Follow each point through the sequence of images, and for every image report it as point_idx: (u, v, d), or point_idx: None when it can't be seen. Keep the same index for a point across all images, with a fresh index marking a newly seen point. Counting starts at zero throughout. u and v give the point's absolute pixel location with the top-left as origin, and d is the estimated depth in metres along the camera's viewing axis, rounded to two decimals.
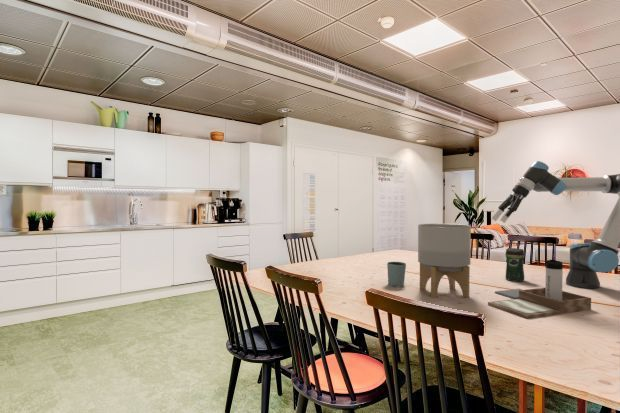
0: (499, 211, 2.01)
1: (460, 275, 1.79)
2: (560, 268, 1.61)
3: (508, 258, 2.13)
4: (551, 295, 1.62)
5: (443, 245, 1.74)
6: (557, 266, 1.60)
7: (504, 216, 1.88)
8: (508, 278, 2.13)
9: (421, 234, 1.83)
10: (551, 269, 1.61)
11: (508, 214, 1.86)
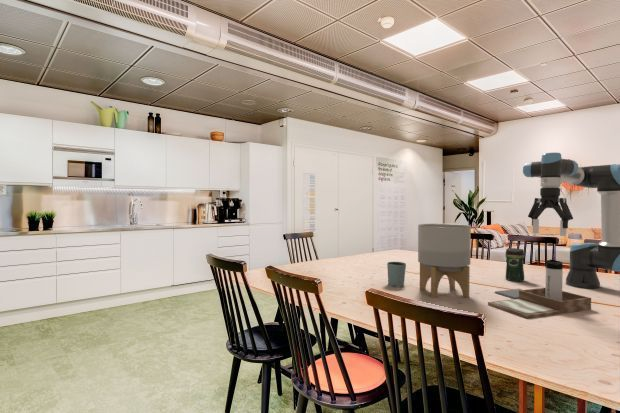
0: (536, 221, 1.71)
1: (460, 275, 1.79)
2: (560, 268, 1.61)
3: (508, 258, 2.13)
4: (551, 295, 1.62)
5: (443, 245, 1.74)
6: (557, 266, 1.60)
7: (562, 229, 1.58)
8: (508, 278, 2.13)
9: (421, 234, 1.83)
10: (551, 269, 1.61)
11: (566, 225, 1.57)
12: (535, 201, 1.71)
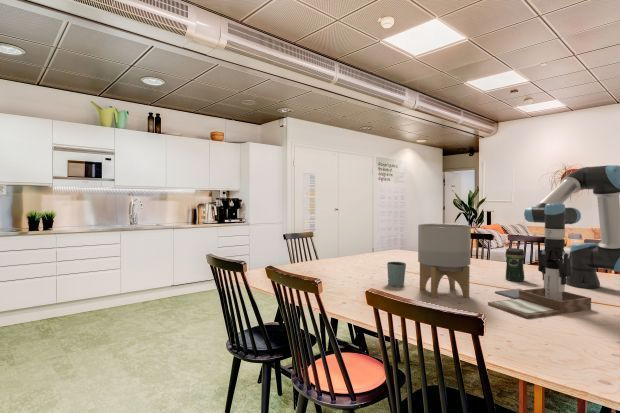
0: None
1: (460, 275, 1.79)
2: None
3: (508, 258, 2.13)
4: (551, 294, 1.62)
5: (443, 245, 1.74)
6: (557, 266, 1.60)
7: (561, 285, 1.60)
8: (508, 278, 2.13)
9: (421, 234, 1.83)
10: (551, 269, 1.61)
11: (564, 282, 1.59)
12: (540, 253, 1.69)
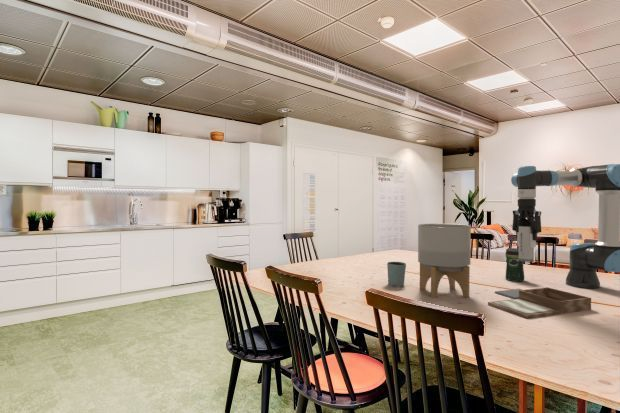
0: None
1: (460, 275, 1.79)
2: None
3: (508, 258, 2.13)
4: (523, 250, 1.75)
5: (443, 245, 1.74)
6: (529, 223, 1.74)
7: (532, 241, 1.73)
8: (508, 278, 2.13)
9: (421, 234, 1.83)
10: (523, 227, 1.75)
11: (535, 238, 1.72)
12: (514, 213, 1.82)
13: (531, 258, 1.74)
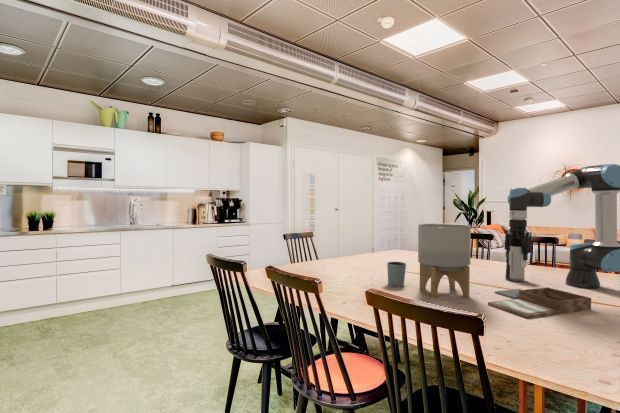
0: None
1: (460, 275, 1.79)
2: None
3: (508, 258, 2.13)
4: (514, 270, 1.80)
5: (443, 245, 1.74)
6: (519, 244, 1.78)
7: (523, 261, 1.78)
8: (508, 278, 2.13)
9: (421, 234, 1.83)
10: (514, 247, 1.79)
11: (526, 258, 1.77)
12: (506, 233, 1.86)
13: (522, 277, 1.79)
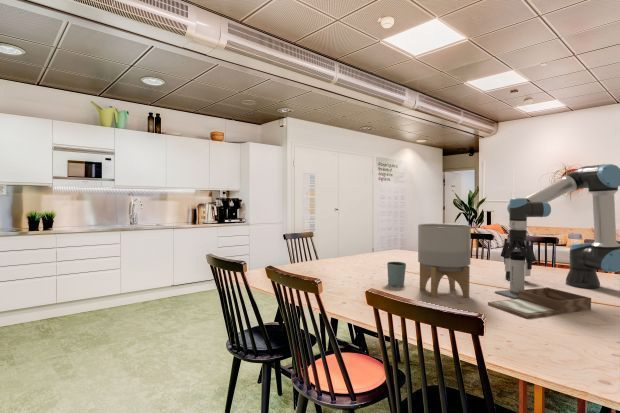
0: (507, 260, 1.87)
1: (460, 275, 1.79)
2: (522, 259, 1.79)
3: None
4: (514, 283, 1.80)
5: (443, 245, 1.74)
6: (519, 257, 1.79)
7: (527, 270, 1.76)
8: (508, 278, 2.13)
9: (421, 234, 1.83)
10: (514, 260, 1.80)
11: (530, 267, 1.75)
12: (505, 241, 1.87)
13: None
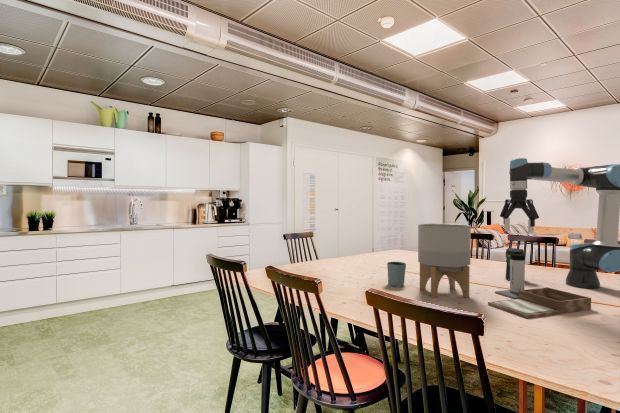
0: (507, 220, 1.89)
1: (460, 275, 1.79)
2: (522, 259, 1.79)
3: (508, 258, 2.13)
4: (514, 283, 1.80)
5: (443, 245, 1.74)
6: (520, 257, 1.78)
7: (530, 228, 1.76)
8: (508, 278, 2.13)
9: (421, 234, 1.83)
10: (514, 260, 1.79)
11: (533, 224, 1.75)
12: (506, 202, 1.88)
13: None
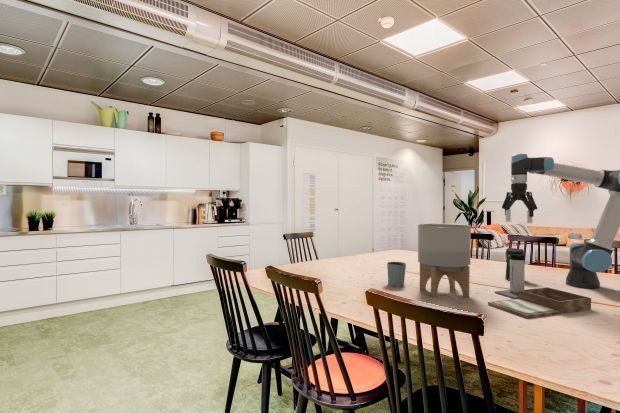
0: (508, 211, 2.04)
1: (460, 275, 1.79)
2: (522, 259, 1.79)
3: (508, 258, 2.13)
4: (514, 283, 1.80)
5: (443, 245, 1.74)
6: (519, 257, 1.79)
7: (529, 218, 1.91)
8: (508, 278, 2.13)
9: (421, 234, 1.83)
10: (514, 260, 1.80)
11: (532, 214, 1.90)
12: (507, 194, 2.04)
13: None
